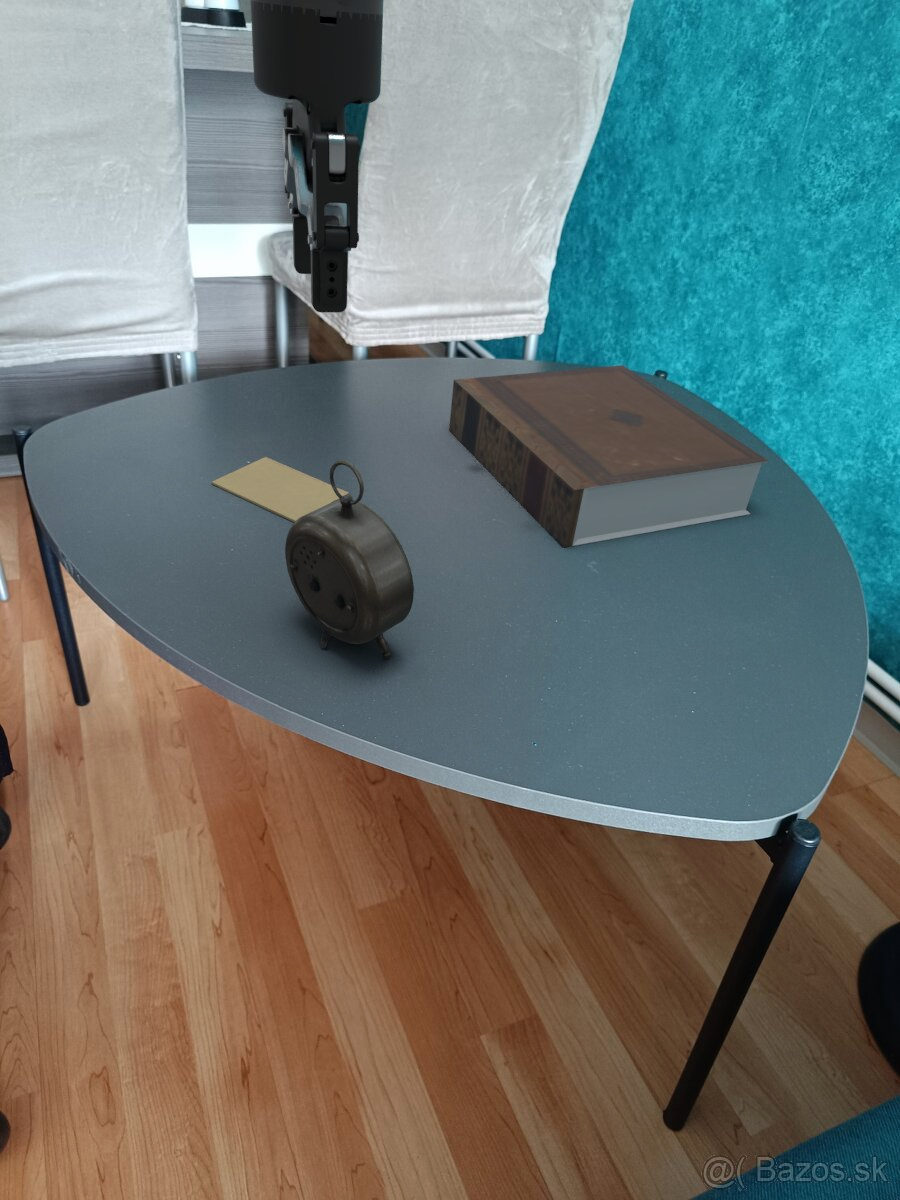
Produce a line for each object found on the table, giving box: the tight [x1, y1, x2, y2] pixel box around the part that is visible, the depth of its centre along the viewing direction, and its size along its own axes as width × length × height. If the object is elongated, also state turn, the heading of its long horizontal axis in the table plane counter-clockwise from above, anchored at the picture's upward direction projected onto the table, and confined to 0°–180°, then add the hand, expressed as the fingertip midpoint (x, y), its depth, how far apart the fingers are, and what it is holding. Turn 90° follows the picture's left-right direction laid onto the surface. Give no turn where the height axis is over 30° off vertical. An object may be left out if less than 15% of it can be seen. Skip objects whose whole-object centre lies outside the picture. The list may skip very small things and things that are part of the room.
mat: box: [211, 456, 350, 523], centre depth 88 cm, size 8×12×1 cm, turn 56°
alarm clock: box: [284, 459, 415, 660], centre depth 64 cm, size 11×5×16 cm, turn 47°
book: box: [448, 364, 769, 548], centre depth 96 cm, size 24×28×6 cm
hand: (318, 290), depth 57 cm, fingers open, 8 cm apart
